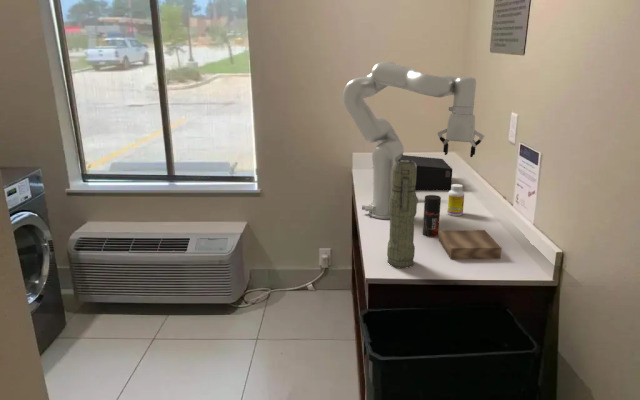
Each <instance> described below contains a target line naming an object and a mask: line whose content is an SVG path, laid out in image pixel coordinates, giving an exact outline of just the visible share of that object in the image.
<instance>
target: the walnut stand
mask: <svg viewBox="0 0 640 400" xmlns="http://www.w3.org/2000/svg"><path fill="white" fill-rule="evenodd" d="M438 242H439V243H440V245H441V247H442V248H443V250H444V252H445V253H446V254H447V256H448V257H449V259H450V260H477V259H478V260H480V259H481V260H486V259H487V260H488V259H489V260H491V259H496V260H497V259H498V260H500V259H501V255H502V247H501V245H499V244H498V242H497V241H496V240H495V239H494V238H493V237H492V236H491V235H490V234H489V232H488V231H486V229H476V230H475V229H467V230H466V229H461V230H460V229H459V230H458V229H452V230H450V229H447V230H446V229H445V230H440V229H439V234H438Z"/></svg>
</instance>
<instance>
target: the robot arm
mask: <svg viewBox="0 0 640 400" xmlns="http://www.w3.org/2000/svg"><path fill="white" fill-rule="evenodd" d="M388 86H389V87H395V88H399V89H403V90H406V91H409V92H414V93H417V94H420V95H424V96H429V97H433V98H444V97H449V96H453V103H452V106H451V107H450V106H448V111H450V112H451V113H450V114H449V117H448V119H447V120H448V121H447V127H446V128H445V129H443V130H440V131H438V132H437V136H438V139H439V140H440V141H441V143H442V145H443V151H442V152H443V153H444V156H447V155H448V153H449V143H448V142H461V143H462V142H463V143H470V144H471V147H470V153H469V156H470V157H469V158H473V157H474V155H476V147H477V146H478V145H480V144H481V142H482V141H483V140H484V138H485V134H482V133H481V132H480V131H478V130H476V115H475V114H474V107H475V106H474V105H475V97H476V88H477V80H476V78H475V77H472V76H471V77H470V76H459V77H458V76H452V75H441V76H439V75H433V74H428V73H424V72H420V71H418V70H417V69H415V68H414V67H411V66H405V65H401V64H396V63H395V62H393V61H381V62H378V63H376V64H374V66H373V67H372V69H371V73H369V74H368V75H366V76H364V77H356V78H353V79H351V80H349V82H348V83H347V84H346V85H345V87H344V88H343V93H342V100H343V105H344V107H345V109H346V111H347V112H348V113H349V115H350V117H351V118H352V120H353V122H354V123H355V125H356V127H357V129H358V131H359V133H360V134H361V136H362V137H363V139H364V140H365V141H366V142H367V143H370V144H371V143H373V144H374V143H377V144H376V146H375V147H374V148H373V150H372V154H371V159H372V161H371V162H372V167H373V168H372V169H373V172H372V173H373V175H372V177H373V178H372V179H373V181H372V184H373V185H372V187H373V188H372V202H371V204H369V205H366V204H365V205H363V204H362V205H361V210H362V211H365V212H368V215H369V216H370V217H371V218H375V219H382V220H388V219H389V220H390V213H389V197H390V195H391V192H392V170H393V167H394V164H395V161H397V160H398V159H400V158H401V157H402V155H404V151H405V149H404V145H403V142H402V141H401V139H400V137H399V136H398V134H397V133H396V131H395V129H394V128H393V125H392V124H391V123H390V121H388V120H387V119H386V118H383V117H376V115H375V114H374V112H373V110H372V109H371V107H370V106H369V105H368V104H367V103H366V102H365V100H364V99H365V98H370V97H373V96H375V95H376V94H378V93H379V92H381V91H383V90H384V89H385V88H387V87H388ZM443 134H446V135H445V137H444V136H443ZM476 136H477V137H478V140H475V137H476Z"/></svg>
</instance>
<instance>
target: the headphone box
mask: <svg viewBox="0 0 640 400" xmlns="http://www.w3.org/2000/svg"><path fill="white" fill-rule="evenodd" d="M400 159H409V160H412V161H414V162H415V163H416V166H417V168H416V169H417V174H416V186H415V189H416V191H450V190H452V189H451V185H452V181H453V168H452V166H450V165H449V164H448V163H447V162H446V161H445V160H444V159H443V158H439V157H437V158H436V157H425V156H416V155H404V154H403V155H402V157H401V158H400ZM398 160H399V159H398Z"/></svg>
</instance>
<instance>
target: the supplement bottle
mask: <svg viewBox="0 0 640 400" xmlns="http://www.w3.org/2000/svg"><path fill="white" fill-rule="evenodd" d="M463 187H464V186H463V184H461V183H460V184H459V183H453V184H452V183H451V190H448V192H447V195H448V197H447V206H446V207H447V208H446V210H447V211H446V213H447V214H448V215H449V216H454V217H459V216H460V217H461V216H462V215H463V213H464V207H465V206H464V202H465V192H464V191H463Z"/></svg>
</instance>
